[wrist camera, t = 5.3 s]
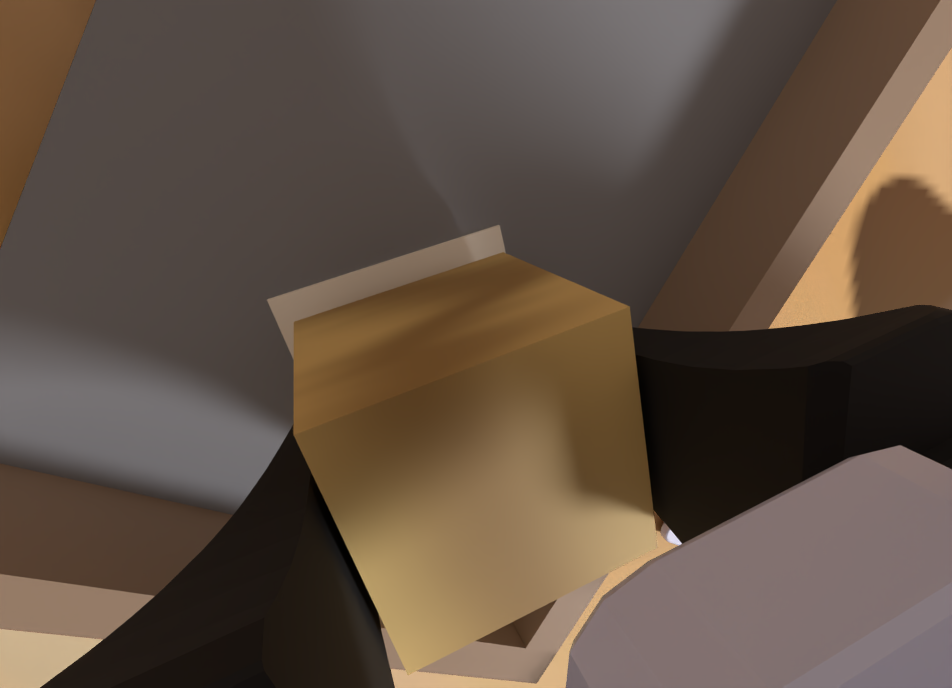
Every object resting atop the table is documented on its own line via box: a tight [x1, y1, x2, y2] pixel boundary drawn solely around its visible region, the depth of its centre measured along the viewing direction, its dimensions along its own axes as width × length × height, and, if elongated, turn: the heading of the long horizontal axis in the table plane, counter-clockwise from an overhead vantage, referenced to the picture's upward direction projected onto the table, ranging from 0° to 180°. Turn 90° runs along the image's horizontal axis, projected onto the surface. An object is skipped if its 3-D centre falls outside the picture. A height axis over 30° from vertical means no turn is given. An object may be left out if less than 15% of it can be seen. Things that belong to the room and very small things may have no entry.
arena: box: [0, 0, 952, 683], centre depth 11 cm, size 16×24×4 cm, turn 149°
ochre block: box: [294, 252, 658, 675], centre depth 10 cm, size 5×5×5 cm
